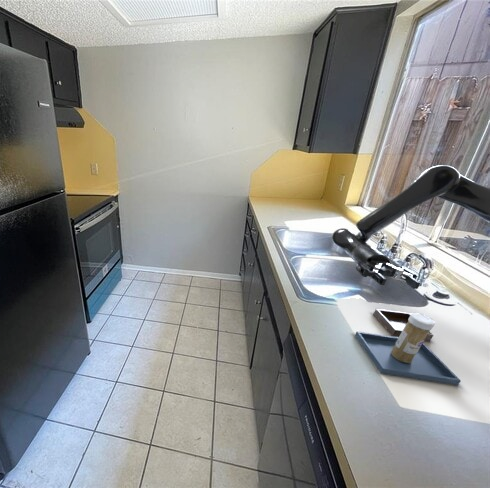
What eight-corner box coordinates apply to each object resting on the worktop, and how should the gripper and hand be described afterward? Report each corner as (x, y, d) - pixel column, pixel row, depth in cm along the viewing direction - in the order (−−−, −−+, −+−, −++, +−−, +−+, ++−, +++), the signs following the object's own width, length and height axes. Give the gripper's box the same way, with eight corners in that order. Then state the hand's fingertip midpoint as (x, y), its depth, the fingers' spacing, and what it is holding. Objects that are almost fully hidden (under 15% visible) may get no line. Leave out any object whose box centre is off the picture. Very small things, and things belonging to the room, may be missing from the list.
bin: (406, 319, 86) (409, 313, 84) (429, 342, 76) (433, 335, 75) (372, 315, 87) (375, 308, 86) (391, 337, 78) (395, 330, 77)
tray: (418, 345, 75) (421, 340, 74) (456, 386, 63) (461, 380, 62) (354, 336, 77) (356, 331, 76) (380, 374, 65) (383, 368, 64)
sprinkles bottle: (407, 366, 67) (431, 326, 62) (387, 354, 71) (408, 315, 65) (414, 359, 69) (438, 320, 64) (394, 348, 73) (415, 310, 67)
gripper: (350, 246, 87) (378, 270, 72) (396, 251, 85) (435, 276, 70) (343, 266, 90) (368, 292, 75) (387, 270, 88) (422, 298, 73)
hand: (400, 284), depth 73 cm, fingers open, 8 cm apart
